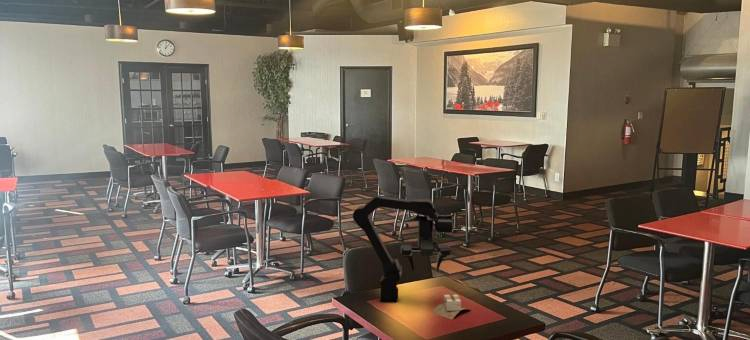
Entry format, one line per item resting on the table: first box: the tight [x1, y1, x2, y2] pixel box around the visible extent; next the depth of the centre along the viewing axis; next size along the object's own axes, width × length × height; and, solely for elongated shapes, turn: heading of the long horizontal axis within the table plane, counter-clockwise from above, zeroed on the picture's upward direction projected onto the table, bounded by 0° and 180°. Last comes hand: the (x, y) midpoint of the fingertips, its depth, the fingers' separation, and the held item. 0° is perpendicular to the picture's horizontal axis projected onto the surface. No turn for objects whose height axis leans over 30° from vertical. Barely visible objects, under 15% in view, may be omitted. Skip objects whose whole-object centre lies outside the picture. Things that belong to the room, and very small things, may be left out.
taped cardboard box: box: [443, 294, 462, 311], centre depth 215 cm, size 7×5×4 cm
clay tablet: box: [431, 302, 470, 321], centre depth 216 cm, size 14×10×3 cm
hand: (425, 271), depth 225 cm, fingers open, 9 cm apart
